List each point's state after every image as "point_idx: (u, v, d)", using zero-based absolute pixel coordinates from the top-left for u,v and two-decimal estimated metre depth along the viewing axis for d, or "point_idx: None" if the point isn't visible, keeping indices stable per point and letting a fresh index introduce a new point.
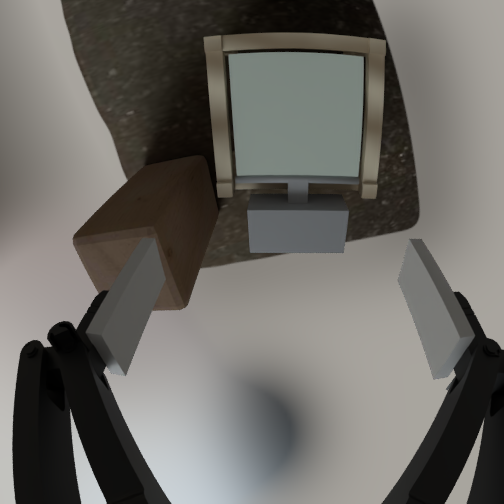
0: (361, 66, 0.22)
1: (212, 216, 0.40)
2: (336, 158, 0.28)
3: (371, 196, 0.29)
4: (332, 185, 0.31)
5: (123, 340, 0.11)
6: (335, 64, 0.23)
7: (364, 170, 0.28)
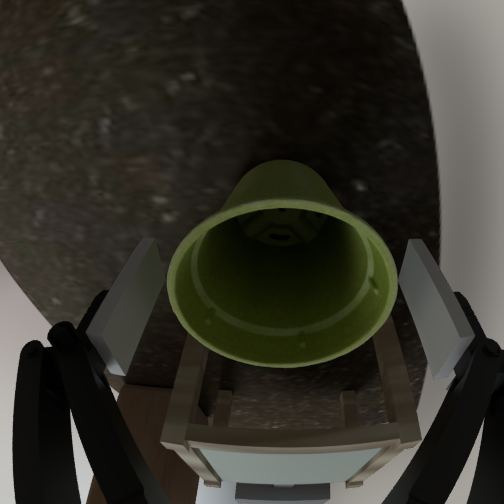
0: (376, 451, 0.16)
1: None
2: (325, 480, 0.22)
3: None
4: None
5: (123, 340, 0.11)
6: (341, 455, 0.16)
7: (352, 479, 0.22)
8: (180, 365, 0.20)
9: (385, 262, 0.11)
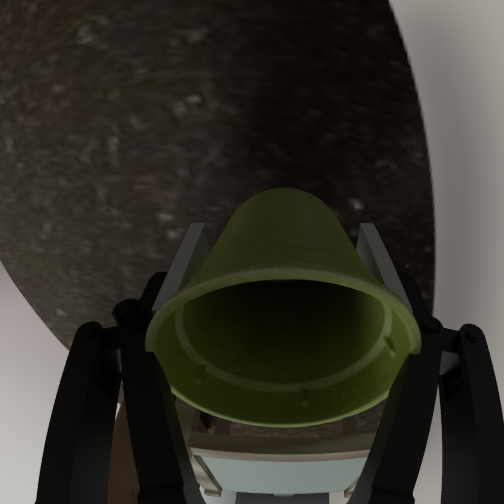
0: None
1: None
2: (323, 489, 0.21)
3: None
4: None
5: None
6: (339, 463, 0.17)
7: (351, 489, 0.22)
8: None
9: (409, 333, 0.08)
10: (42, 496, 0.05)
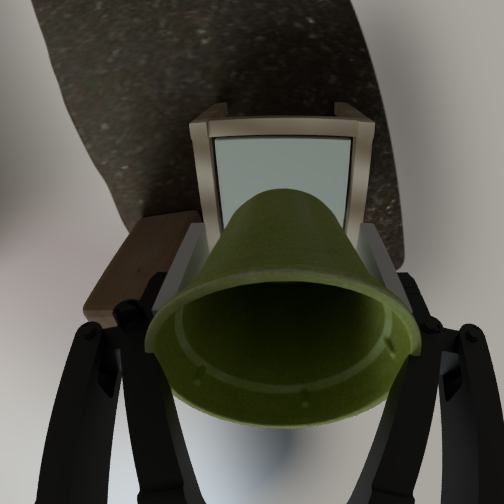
0: (348, 150, 0.25)
1: None
2: None
3: None
4: None
5: None
6: (321, 149, 0.26)
7: None
8: (205, 111, 0.29)
9: (409, 334, 0.08)
10: (42, 496, 0.05)
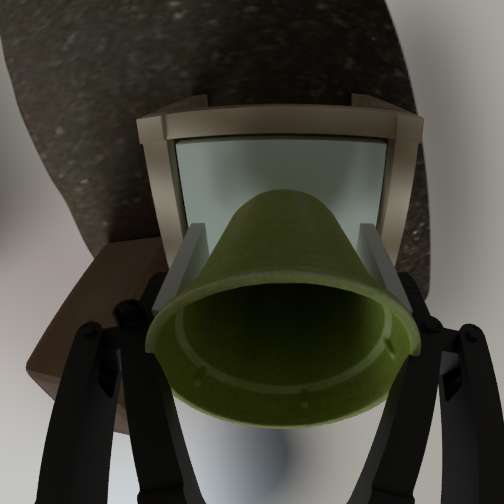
0: (382, 159, 0.16)
1: None
2: None
3: None
4: None
5: None
6: (341, 157, 0.16)
7: None
8: (171, 104, 0.20)
9: (409, 335, 0.08)
10: (42, 496, 0.05)
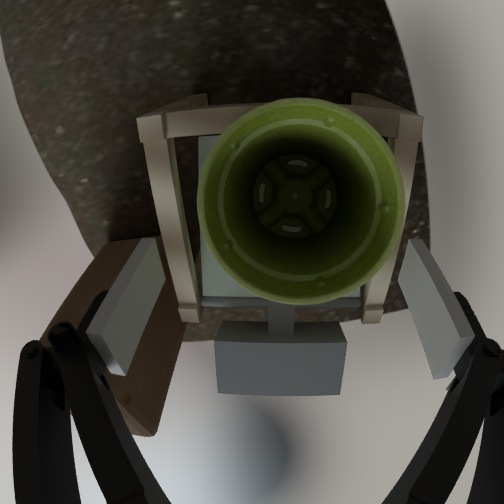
0: None
1: None
2: None
3: (374, 321, 0.23)
4: None
5: (123, 340, 0.11)
6: None
7: (368, 294, 0.22)
8: (171, 103, 0.20)
9: (387, 157, 0.12)
10: None
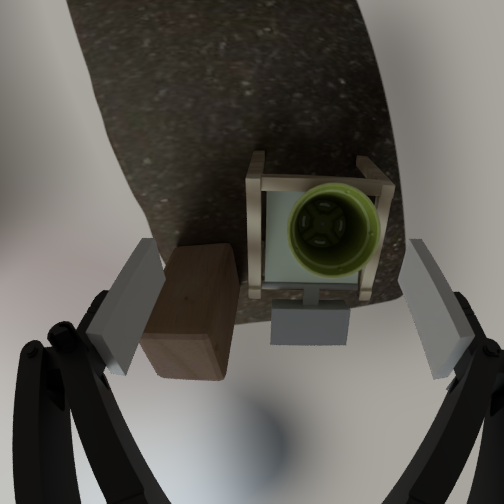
0: None
1: (236, 295, 0.49)
2: None
3: (366, 299, 0.38)
4: None
5: (123, 340, 0.11)
6: None
7: (362, 281, 0.37)
8: (251, 162, 0.36)
9: (373, 211, 0.28)
10: None
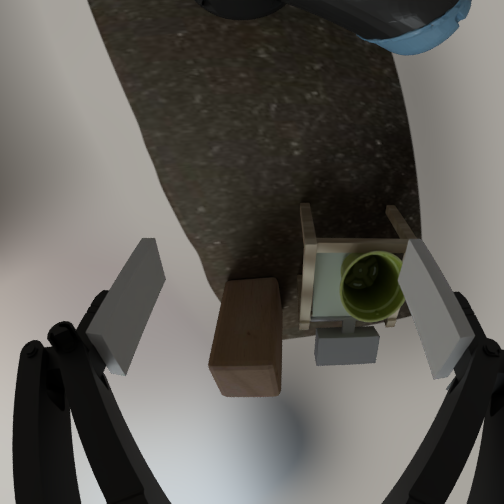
0: None
1: (281, 321, 0.57)
2: None
3: (391, 326, 0.46)
4: None
5: (123, 340, 0.11)
6: None
7: None
8: (303, 221, 0.43)
9: None
10: None
